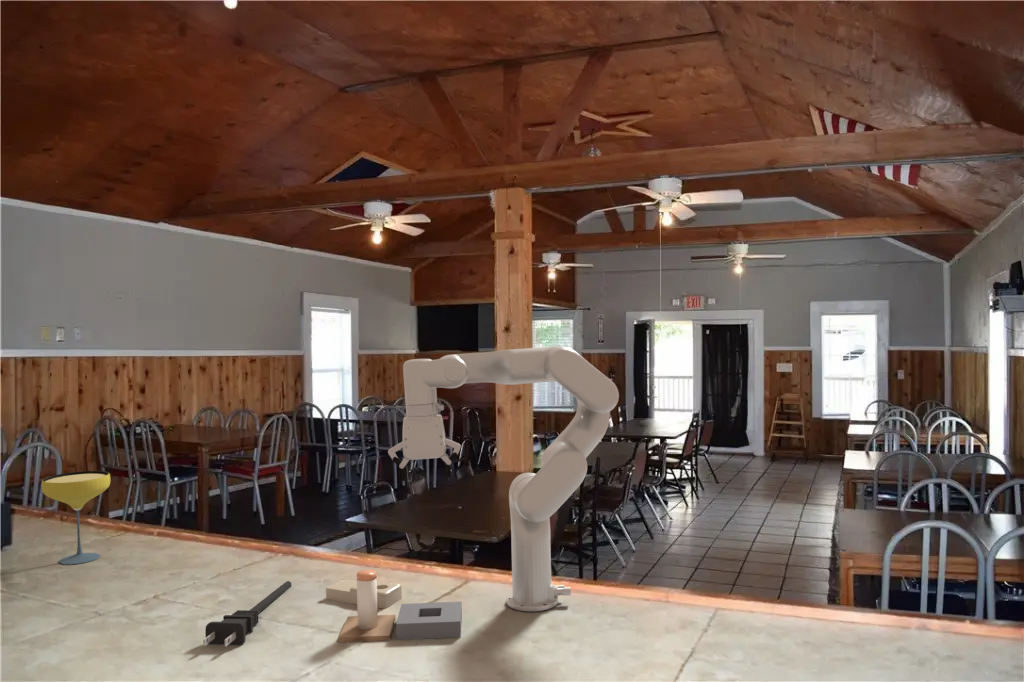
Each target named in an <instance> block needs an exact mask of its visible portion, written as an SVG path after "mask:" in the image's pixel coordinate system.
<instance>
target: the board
mask: <svg viewBox="0 0 1024 682" xmlns="http://www.w3.org/2000/svg"><path fill="white" fill-rule="evenodd" d="M394 622H396V614H377V624H378V625H377V627H375V628H372V629H360V628H358V615H355V616H347V618H346V620H345V622H344V625H343V627H342V629H341V632H340V633H339V635H338V642H339V643H345V642H346V643H347V642H348V643H349V642H371V641H373V642H374V641H375V642H376V641H390V640H391V638H392V637H391V636H392V633H393V629H394V626H395V623H394Z"/></svg>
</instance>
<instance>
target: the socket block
mask: <svg viewBox="0 0 1024 682" xmlns="http://www.w3.org/2000/svg"><path fill="white" fill-rule="evenodd" d="M462 603H463V602H462V601H446V602H445V601H443V602H442V601H441V602H417V603H416V602H415V603H401V605H400V608H399V612H398V616H397V619H396V623H395V627H396V630H395V631H396V633H395V635H396V640H397V641H399V640H401V641H402V640H420V639H421V640H424V639H425V640H426V639H444V638H443V637H452V638H461V637H462V624H463V621H462V619H463V609H462V607H463V604H462ZM439 637H440V638H439Z"/></svg>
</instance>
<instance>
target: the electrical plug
mask: <svg viewBox="0 0 1024 682" xmlns="http://www.w3.org/2000/svg"><path fill="white" fill-rule="evenodd" d="M291 587H292V581H290V580H286V581H285V582H284V583H282V584H281V585H280V586H279V587H277V588H276V589H275V590H274V591H272V592H271V593H269V594H268V595H267V596H265V597H264V598H263V599H262V600H261V601H259V602H258V603H257V604H256V605H254V606H252V608H251V609H248V610H246V609H244V610H242V609H240V610H238V609H237V610H236V611H234V612H233V613H232V614H231V615H230V614H225V615H223V619H222V620H221V621H211V622H208V623H207V624H206V626H205V630H204V631H205V634H204V635H205V637H204V638H203V640H202V646H203V647H206V646H207V645H210V646H211V645H214V646H215V645H217V646H218V645H219V646H220V645H221V646H222V645H223V646H224V647H227V646H229V645H230V646H242V645H244V644H245V643H246V635H247V634H252V633H253V632H254V627H256V626H257V625H258V624H259V613H260V612H261V611H263V610H264V609H265V608H266V607H268V606H269V605H270V604H271V603H273V602H274V601H275V600H276V599H277V598H279V597H280V596H282V594H284V593H285V592H286V591H288V589H290V588H291Z"/></svg>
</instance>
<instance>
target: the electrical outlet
mask: <svg viewBox="0 0 1024 682" xmlns="http://www.w3.org/2000/svg"><path fill="white" fill-rule="evenodd" d="M325 595H326V596H325V598H326V600H331V601H332V600H333V601H338V602H344V603H348V604H349V603H350V604H357V580H351V579H342V580H341V579H340V580H339V581H337V582H335V583H333V584H332V585H329V586H327V587H326V588H325ZM402 599H403V595H402V585H401V584H398V583H393V582H392V583H391V582H384V581H379V580H377V608H378V609H388V608H389V607H391V606H393V605H394V604H396V603H398V602H399V601H401V600H402Z"/></svg>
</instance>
